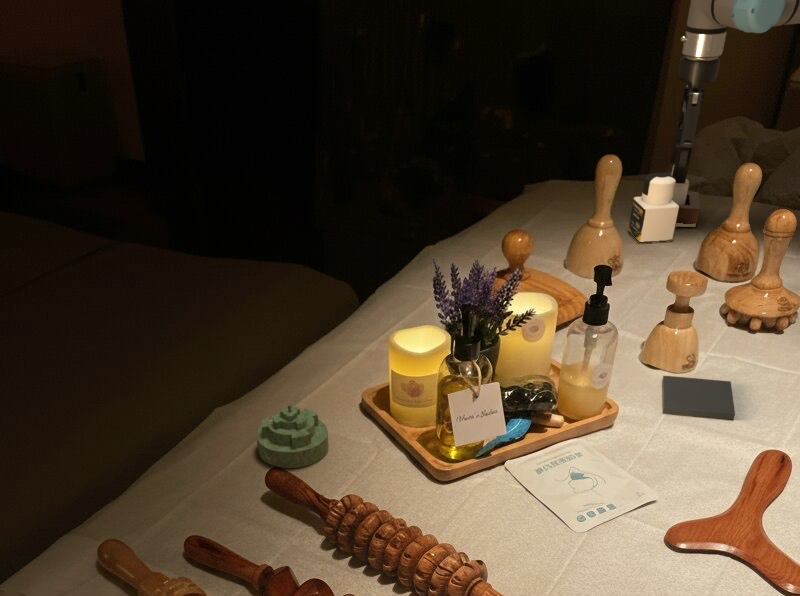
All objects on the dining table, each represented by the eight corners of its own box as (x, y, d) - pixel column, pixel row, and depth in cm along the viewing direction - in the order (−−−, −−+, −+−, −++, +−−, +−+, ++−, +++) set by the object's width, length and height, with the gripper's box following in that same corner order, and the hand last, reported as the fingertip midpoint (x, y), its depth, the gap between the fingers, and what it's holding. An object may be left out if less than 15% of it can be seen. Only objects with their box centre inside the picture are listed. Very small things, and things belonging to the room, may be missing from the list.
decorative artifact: (343, 447, 124) (297, 422, 130) (340, 403, 119) (293, 379, 125) (289, 476, 119) (244, 449, 124) (285, 432, 114) (238, 405, 120)
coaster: (729, 387, 134) (730, 381, 133) (733, 420, 127) (735, 414, 126) (662, 381, 136) (663, 375, 135) (662, 413, 129) (663, 407, 128)
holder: (694, 211, 193) (698, 192, 190) (696, 228, 185) (700, 208, 182) (642, 208, 195) (646, 189, 192) (642, 225, 187) (646, 206, 184)
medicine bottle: (627, 231, 184) (637, 171, 176) (660, 229, 185) (671, 169, 177) (638, 243, 179) (649, 182, 171) (672, 241, 179) (685, 179, 171)
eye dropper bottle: (682, 222, 188) (695, 162, 180) (655, 220, 189) (666, 161, 181) (681, 215, 191) (693, 156, 183) (655, 214, 192) (666, 155, 184)
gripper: (679, 43, 179) (658, 154, 193) (682, 70, 161) (659, 190, 175) (717, 43, 178) (693, 155, 192) (724, 71, 160) (697, 192, 174)
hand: (677, 172), depth 184 cm, fingers open, 13 cm apart
